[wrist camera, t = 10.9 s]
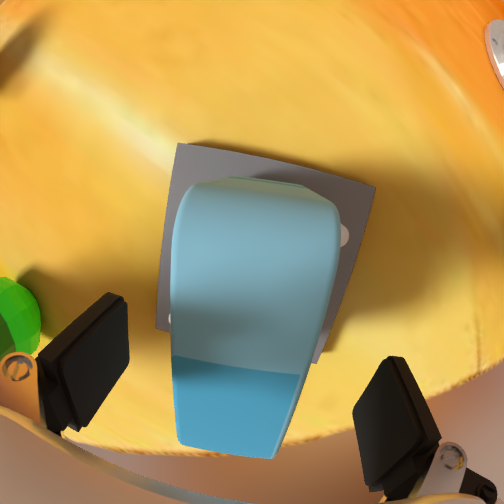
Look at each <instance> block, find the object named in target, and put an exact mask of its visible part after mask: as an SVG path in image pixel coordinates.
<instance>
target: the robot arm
mask: <svg viewBox="0 0 504 504" xmlns="http://www.w3.org/2000/svg"><path fill="white" fill-rule="evenodd" d="M485 43H486V47H487V52H488V55H489V58H490V61H491V64H492V66H493V69H494V71H495V73H496V75H497V78H498V80H499V82H500V84H501V86H502V87H503V89H504V20H501V19H495V20H493V21H491V22H489V23H488V24H487V26H486V28H485ZM129 359H130V356H129V340H128V314H127V303H126V302H124V299H123V297H122V296H119V295H116V294H113V293H110V292H108V293H106V294H105V295H103V296H102V297H101V298H100V299H99V300H98V301H96V302H95V303H94V304H93V305H92V306H91V307H89V308H88V309H87V310H86V311H85V312H84V313H82V314H81V315H80V316H79V317H78V318H77V319H76V320H74V321H73V322H72V323H71V324H70V325H69V326H68V327H67V328H66V329H64V330H63V331H62V332H61V333H60V334H59V335H58V336H57V337H56V338H55V339H53V340H52V341H51V342H50V343H49V344H48V345H47V346H46V347H45V348H44V349H43V350H42V351H41V352H40V353H39V354H38V357H37V358H35V359H34V358H33V357H32V356H31V355H29V354H27V353H24V352H14V353H11V354H8V355H6V356H5V357H4V358H3V359H2V360H1V362H0V504H256V503H248V502H241V501H235V500H229V499H224V498H219V497H213V496H209V495H205V494H201V493H196V492H192V491H189V490H185V489H181V488H178V487H174V486H171V485H168V484H165V483H162V482H158V481H155V480H153V479H150V478H147V477H144V476H142V475H139V474H136V473H134V472H131V471H129V470H126V469H124V468H121V467H119V466H117V465H115V464H112V463H110V462H108V461H106V460H104V459H102V458H100V457H97V456H95V455H93V454H91V453H89V452H87V451H85V450H83V449H81V448H80V447H77V446H76V445H74V444H72V443H70V442H68V441H67V440H65V436H64V432H63V431H64V430H65V429H66V427H67V426H68V427H70V428H72V429H73V430H75V431H77V432H79V431H80V429H81V428H82V426H83V427H86V426H87V425H88V424H89V423H90V421H91V420H92V418H93V416H94V415H95V413H96V412H97V410H98V409H99V407H100V406H101V404H102V403H103V401H104V400H105V398H106V397H107V395H108V394H109V392H110V391H111V389H112V388H113V387H114V385H115V384H116V382H117V381H118V379H119V378H120V376H121V375H122V373H123V372H124V370H125V369H126V368H127V366H128V364H129ZM352 415H353V420H354V425H355V430H356V435H357V440H358V445H359V451H360V457H361V462H362V468H363V474H364V481H365V484H366V485H367V486H369V492H376V491H382V490H384V494H385V495H384V496H383V498H382V499H381V501H380V502H379V503H374V504H504V503H503V502H502V500H501V499H500V498H498V499H497V490H496V487H495V485H494V484H493V483H492V482H491V481H490V480H488V479H486V478H484V477H482V476H480V475H479V474H477V473H475V472H473V471H472V470H470V469H468V468H467V467H466V466H467V456H466V453H465V451H464V450H463V449H462V448H461V447H460V446H459V445H458V444H456V443H453V442H445V443H442V444H441V445H440V446H439V443H438V441H439V440H440V439H441V438H442V437H441V435H440V433H439V430H438V428H437V426H436V423H435V421H434V419H433V417H432V414H431V412H430V410H429V408H428V406H427V403H426V401H425V399H424V397H423V395H422V393H421V391H420V389H419V386H418V384H417V382H416V380H415V378H414V376H413V374H412V372H411V370H410V368H409V366H408V365H407V363H406V361H405V359H404V358H403V357H397V356H388V357H387V358H386V359H384V360H383V361H382V362H381V364H380V365H379V367H378V369H377V371H376V372H375V374H374V376H373V377H372V379H371V381H370V382H369V384H368V386H367V387H366V389H365V391H364V392H363V394H362V395H361V397H360V398H359V400H358V401H357V403H356V404H355V406H354V408H353V413H352Z"/></svg>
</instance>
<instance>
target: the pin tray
mask: <svg viewBox="0 0 504 504" xmlns="http://www.w3.org/2000/svg"><path fill="white" fill-rule="evenodd" d="M231 176H242V177H250V178H257V179H265V180H272V181H279V182H285V183H292V184H298V185H302V186H304V187H306V188H308V189H310V190H311V191H313V192H315V193H317V194H319V195H320V196H322V197H324V198H326V199H327V200H329V201H331V202H332V203H333V204H334V205H335V206H336V208H337V209H338V212H339V216H340V222H341V247H340V255H339V262H338V267H337V272H336V276H335V280H334V284H333V288H332V292H331V296H330V300H329V304H328V307H327V311H326V315H325V318H324V322H323V325H322V329H321V332H320V336H319V339H318V342H317V346H316V349H315V352H314V355H313V359H312V362H311V363H314V364H317V362H318V359H319V357H320V355H321V352H322V350H323V348H324V345H325V343H326V340H327V338H328V335H329V333H330V330H331V328H332V325H333V323H334V320H335V318H336V315H337V312H338V310H339V307H340V304H341V302H342V299H343V296H344V293H345V290H346V288H347V285H348V282H349V279H350V276H351V273H352V270H353V267H354V264H355V261H356V258H357V254H358V251H359V248H360V245H361V241H362V238H363V234H364V231H365V228H366V224H367V220H368V217H369V213H370V209H371V205H372V202H373V198H374V194H375V190H376V187H374V186H370V185H367V184H364V183H361V182H358V181H354V180H351V179H347V178H344V177H341V176H337V175H333V174H330V173H326V172H322V171H319V170H315V169H311V168H307V167H303V166H299V165H295V164H291V163H286V162H282V161H278V160H273V159H269V158H264V157H259V156H254V155H249V154H244V153H239V152H233V151H228V150H222V149H216V148H210V147H204V146H197V145H190V144H183V143H178V144H177V149H176V154H175V160H174V165H173V171H172V177H171V183H170V189H169V195H168V202H167V209H166V216H165V224H164V232H163V240H162V249H161V259H160V270H159V282H158V296H157V312H156V329H160V330H163V331H167V332H170V333H171V331H170V280H171V248H172V236H173V229H174V224H175V219H176V215H177V212H178V209H179V206H180V203H181V201H182V198H183V196H184V195H185V193H186V191H187V190H188V189H189V188H190V187H191V186H192V185H194V184H196V183H200V182H205V181H210V180H215V179H220V178H226V177H231Z"/></svg>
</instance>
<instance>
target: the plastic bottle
mask: <svg viewBox="0 0 504 504" xmlns="http://www.w3.org/2000/svg"><path fill="white" fill-rule="evenodd" d="M40 316H41V312H40V309H39V306H38V303H37V301H36V299H35V298H34V296H33V295H32V294H31V292H30V291H29V290H28V289H26V288H25V287H23V286H22V285H20V284H18V283H16V282H14V281H12V280H11V279H8V278H6V277H0V362H1V360H2V359H3V358H4V357H5V356H6V355H8V354H11V353H14V352H24V353H27V354H29V355H31V354H32V353H33V352H34V351H35V350H36V349H37V347H38V345H39V342H40V329H41V318H40Z"/></svg>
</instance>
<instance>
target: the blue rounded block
mask: <svg viewBox="0 0 504 504" xmlns="http://www.w3.org/2000/svg"><path fill="white" fill-rule="evenodd" d="M340 247H341V222H340V216H339V212H338V209H337V208H336V206H335V205H334V204H333V203H332V202H331V201H329V200H327V199H326V198H324V197H322V196H320V195H319V194H317V193H315V192H313V191H311V190H310V189H308V188H306V187H304V186H302V185H298V184H292V183H285V182H279V181H272V180H265V179H257V178H250V177H242V176H231V177H226V178H220V179H215V180H210V181H205V182H200V183H196V184H194V185H192V186H191V187H190V188H189V189H188V190H187V191H186V193H185V195H184V196H183V198H182V201H181V203H180V206H179V209H178V212H177V215H176V219H175V224H174V229H173V236H172V248H171V280H170V331H171V362H172V381H173V396H174V408H175V419H176V429H177V438H178V441H179V442H180V443H181V444H182V445H185V446H189V447H194V448H199V449H203V450H209V451H214V452H220V453H226V454H232V455H239V456H247V457H256V458H266V459H271V458H274V457H275V456H276V455H277V453H278V451H279V449H280V447H281V444H282V442H283V439H284V437H285V434H286V432H287V429H288V427H289V424H290V422H291V419H292V416H293V414H294V411H295V408H296V406H297V403H298V400H299V397H300V394H301V392H302V389H303V386H304V383H305V380H306V377H307V374H308V371H309V368H310V365H311V362H312V359H313V355H314V352H315V349H316V346H317V342H318V339H319V336H320V332H321V329H322V325H323V322H324V318H325V315H326V311H327V307H328V304H329V300H330V296H331V292H332V288H333V284H334V280H335V276H336V272H337V267H338V262H339V255H340Z"/></svg>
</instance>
